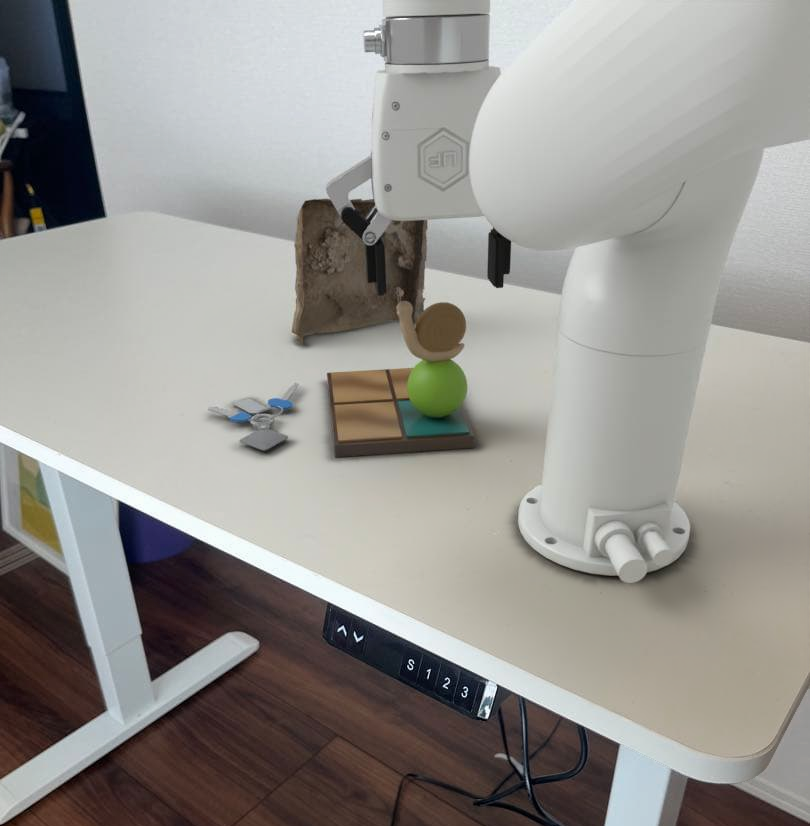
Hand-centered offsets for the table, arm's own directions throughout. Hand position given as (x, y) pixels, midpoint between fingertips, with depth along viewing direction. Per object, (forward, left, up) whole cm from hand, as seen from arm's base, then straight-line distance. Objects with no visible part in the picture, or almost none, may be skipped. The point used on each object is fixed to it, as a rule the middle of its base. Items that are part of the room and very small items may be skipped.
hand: (438, 287), depth 68 cm
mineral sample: (+27, +5, -14) cm, 31 cm away
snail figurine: (+1, 0, -12) cm, 12 cm away
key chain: (+5, +17, -14) cm, 22 cm away
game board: (+4, +3, -13) cm, 14 cm away
